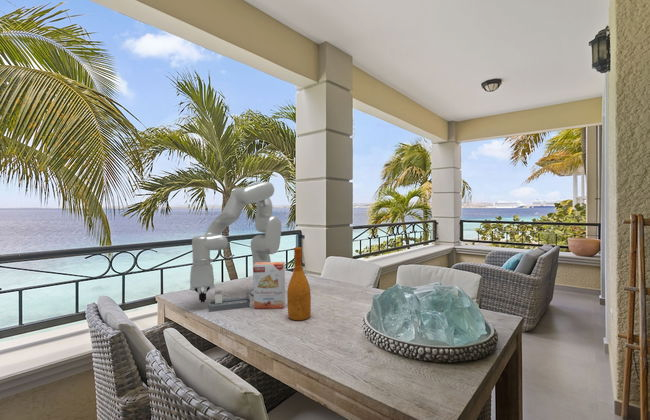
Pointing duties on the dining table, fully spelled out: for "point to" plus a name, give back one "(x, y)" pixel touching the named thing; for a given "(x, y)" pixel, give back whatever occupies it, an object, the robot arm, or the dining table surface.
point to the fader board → (230, 303)
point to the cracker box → (269, 284)
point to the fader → (218, 297)
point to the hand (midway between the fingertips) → (202, 301)
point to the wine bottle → (298, 291)
